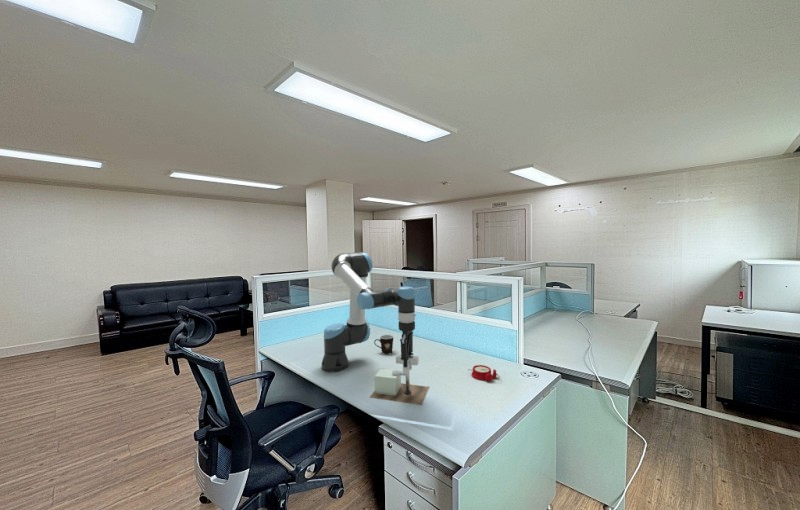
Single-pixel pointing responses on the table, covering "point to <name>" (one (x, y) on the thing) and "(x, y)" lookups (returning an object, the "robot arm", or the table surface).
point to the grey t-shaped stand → (412, 361)
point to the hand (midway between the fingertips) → (407, 371)
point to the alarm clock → (483, 373)
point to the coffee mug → (386, 343)
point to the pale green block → (387, 382)
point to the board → (406, 394)
